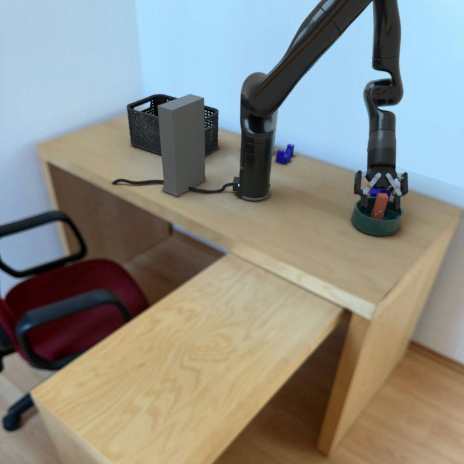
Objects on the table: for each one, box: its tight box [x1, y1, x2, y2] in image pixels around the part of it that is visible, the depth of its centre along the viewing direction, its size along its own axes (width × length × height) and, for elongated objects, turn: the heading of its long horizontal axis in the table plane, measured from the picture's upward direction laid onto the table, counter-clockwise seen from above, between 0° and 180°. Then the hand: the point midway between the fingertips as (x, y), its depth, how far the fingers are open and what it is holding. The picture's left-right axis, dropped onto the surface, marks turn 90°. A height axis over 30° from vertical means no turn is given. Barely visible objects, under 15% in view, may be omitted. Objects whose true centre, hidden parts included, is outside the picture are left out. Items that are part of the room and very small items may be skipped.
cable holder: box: [275, 143, 295, 165], centre depth 152 cm, size 8×4×4 cm, turn 142°
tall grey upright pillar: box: [158, 93, 207, 197], centre depth 129 cm, size 14×6×25 cm, turn 144°
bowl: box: [351, 196, 404, 237], centre depth 122 cm, size 13×13×5 cm
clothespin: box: [370, 193, 390, 220], centre depth 121 cm, size 2×3×8 cm
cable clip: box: [369, 187, 392, 200], centre depth 133 cm, size 12×4×6 cm, turn 169°
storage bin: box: [126, 93, 220, 157], centre depth 155 cm, size 29×19×13 cm
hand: (380, 210), depth 119 cm, fingers open, 8 cm apart
